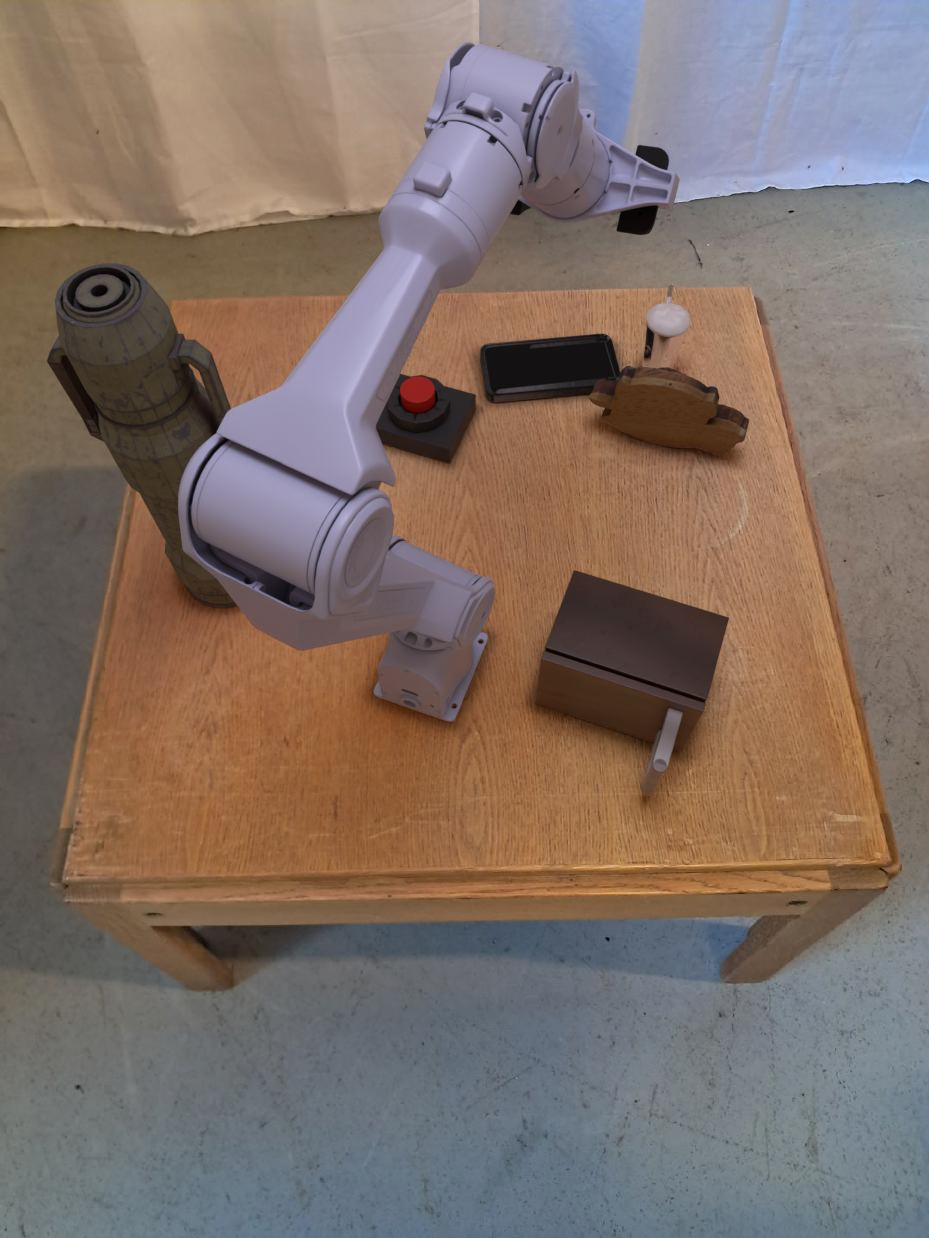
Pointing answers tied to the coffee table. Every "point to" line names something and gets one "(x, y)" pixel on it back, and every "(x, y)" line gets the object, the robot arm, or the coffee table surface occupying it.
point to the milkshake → (664, 333)
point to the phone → (547, 367)
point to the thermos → (140, 395)
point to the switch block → (427, 422)
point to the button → (417, 395)
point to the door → (620, 708)
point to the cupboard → (638, 635)
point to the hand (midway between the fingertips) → (597, 201)
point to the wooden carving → (669, 410)
